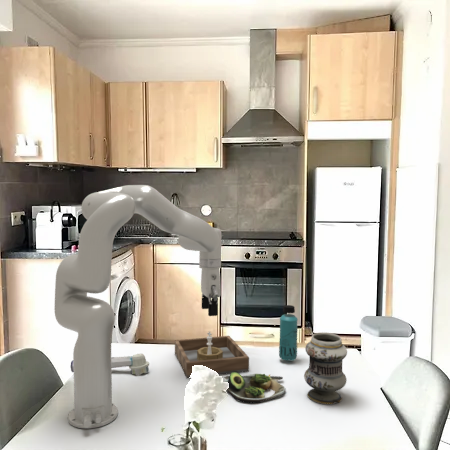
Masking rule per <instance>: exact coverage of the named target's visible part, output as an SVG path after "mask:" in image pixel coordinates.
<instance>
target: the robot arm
mask: <svg viewBox="0 0 450 450" xmlns="http://www.w3.org/2000/svg"><path fill="white" fill-rule="evenodd" d="M80 209H81V214H82V216H83V217H84V218H85V219H86V221H85V222H84V224H83V226H82V228H81V230H80V233H79V240H78V249H77V254H76V253H75V254H70V255H67V256H65V257H64V258H63V259H62V260H61V261H60V263H59V265H58V268H56V272H55V273H56V274H55V283H54V285H55V288H54V316H55V319H56V322H57V323H58V324H59V325H60V326H61V327H63V328H65V329H67V330H70V331H73V332H76V333H77V337H76V338H77V339H76V341H75V344H74V347H73V353H72V354H73V357H72V358H73V360H72V361H73V362H74V372H73V399H74V400H73V403H74V404H73V405H74V406H73V408H72V409H71V411H69V413H68V417H67V418H68V419H67V420H68V423H69V424H70V425H71V426H73V427H75V428H79V429H94V428H95V429H96V428H99V427H103V426H106V425H108V424H110V423H112V422H113V421H114V420H115V419H116V418H117V417H118V415H119V408H118V407H117V405H116V404H114V403H113V396H112V395H113V393H112V392H113V391H112V390H113V389H112V388H113V387H112V386H113V383H112V380H113V379H112V377H113V376H112V373H113V372H112V369H113V368H112V367H111V357H112V339H113V331H114V326H115V319H116V315H115V311H114V309H113V307H112V306H111V304H109V303H108V302H106V301H105V300H103V299H101V298H95V297H92V296H88V294H101V293H104V292H105V291H106V290H107V289H108V288H109V286H110V284H111V279H112V264H113V262H112V260H113V258H112V257H113V245H114V240H115V236H116V234H117V232H118V231H119V230H120V229H121V228H122V226H124V225H125V224H126V223H128V222H129V221H130V220H131V218H133V216H134V214H138V215H140V216H141V217H143V218H145V219H146V220H148V221H149V222H150V223H151V224H153V225H154V226H156V227H157V228H158V229H159V230H161V231H164V232H165V233H168V234H171V235H176V236H178V237H177V238H178V239H177V240H178V244H179V245H180V247H181V248H183V249H184V250H186V251H192V252H193V251H195V252H199V257H198V259H199V264H198V265H199V266H198V268H200V269H201V276H200V278H201V279H200V291H201V309H202V310H207V313H208V315H207V316H209V317H217V316H218V314H219V312H218V311H219V308H218V307H219V298H220V297H221V295H222V292H221V291H222V290H221V289H222V288H221V273H220V269H221V268H222V230H221V228H217V227H213V226H212V225H211V224H209V223H208V222H207V221H206V220H204V219H202V218H201V217H198V216H196V215H194V214H192V213H190V212H187V211H186V210H183V209H181V208H179V207H177V206H176V205H175V204H174V203H173V202H171V201H170V200H169V199H168V198H166V196H164V195H163V194H162V193H160V191H158V190H157V189H156V188H154V187H153V186H150V185H148V184H128V185H122V186H118V187H114V188H113V187H112V188H108V189H105V190H100V191H98V192H97V191H95V192H92V193H90V194H88V195H87V196H86V197H85V198H84V199H83V200H82V202H81V208H80Z"/></svg>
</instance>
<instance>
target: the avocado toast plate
mask: <svg viewBox="0 0 450 450" xmlns="http://www.w3.org/2000/svg"><path fill="white" fill-rule="evenodd" d="M223 378H224V379H225V380H224V382H228V383H229V388H228V389H227V391H226V392H227V393H228V395H230V396H231V397H232V398H233V399H235V401H238V402H240V403H244V404H258V403H259V404H260V403H263V402H265V401H266V402H267V401H270V400H272V399H275V398H277V397H280V396H281V395H283V394H284V393H285V392H286V388H285V386H284V385H283V384H281V383H279V381H282V380H284V376H281V375H280V376H278V375H277V376H275V375H271V374H268V375H267V374H265V373H251V374H246V375H241V373H236V372H233V373H231V374H229V375H226V376H224V377H223ZM266 391H273V394H272V395H270V396H268V397H265V392H266Z"/></svg>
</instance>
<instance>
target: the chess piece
mask: <svg viewBox="0 0 450 450" xmlns="http://www.w3.org/2000/svg"><path fill="white" fill-rule="evenodd" d="M206 334H207V336H206V338H207V340H208V343H207V345H208V351H207V354H208V355H210V354H212V351H211V345H212V343H211V341H212V337H213V336H212V335H213V333H211V331H210V330H209V331H208V332H207V333H206Z"/></svg>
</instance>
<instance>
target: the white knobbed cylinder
mask: <svg viewBox="0 0 450 450" xmlns="http://www.w3.org/2000/svg"><path fill="white" fill-rule="evenodd" d="M149 366H150V362H149V361H147V359H146V356H145V354H144V353H135V354H133V355H131V356H129V355H128V356H111V367H112V369H116V368H126V367H128V368H129V369H130V373H131V374H132V375H136V376H141V375H142V374H148V373H149V371H150V370H149ZM70 371H71V373H74V362H73V360H71V362H70Z"/></svg>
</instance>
